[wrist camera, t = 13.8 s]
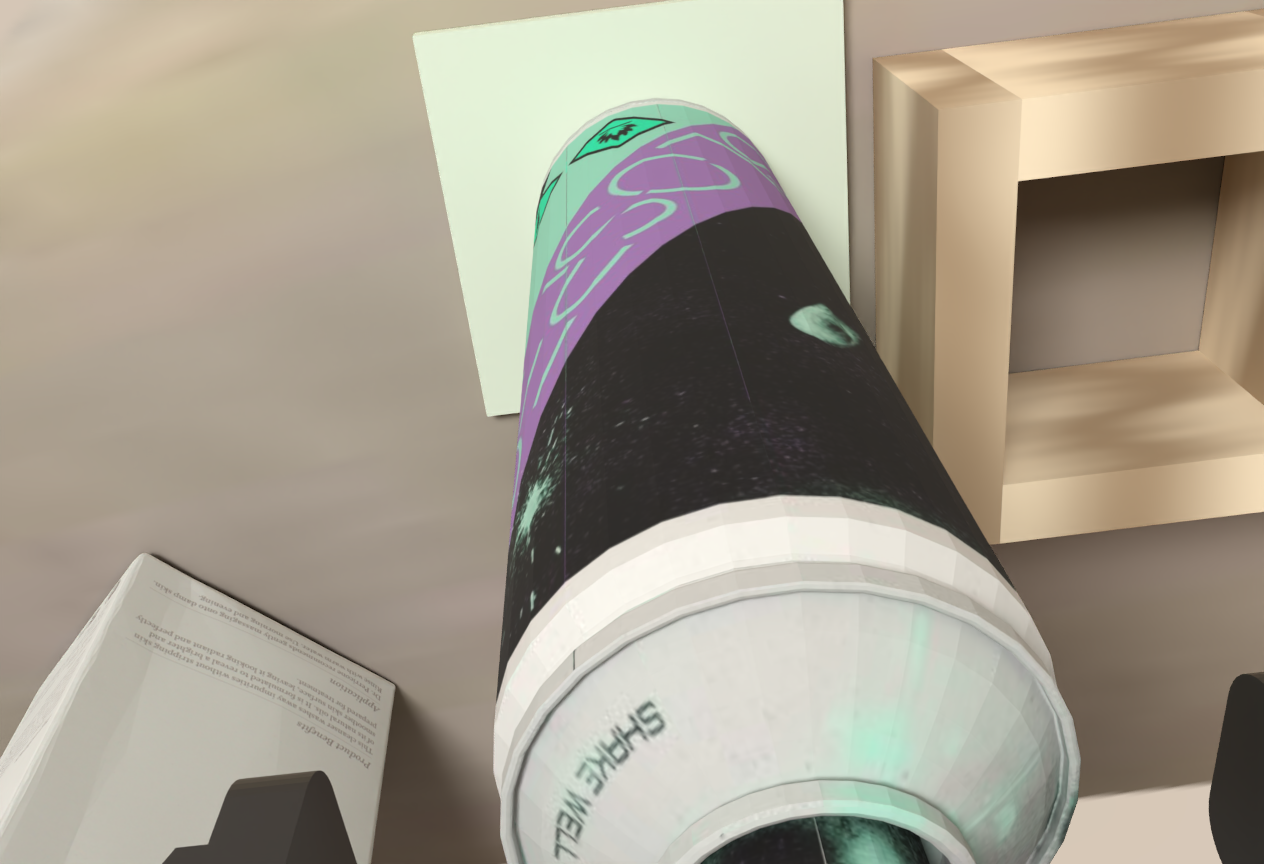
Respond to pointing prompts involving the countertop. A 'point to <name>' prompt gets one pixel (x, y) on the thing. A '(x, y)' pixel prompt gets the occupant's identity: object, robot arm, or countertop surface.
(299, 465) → the countertop surface
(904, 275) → the wooden box holder
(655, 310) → the spray can
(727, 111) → the mat
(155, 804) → the skincare box
